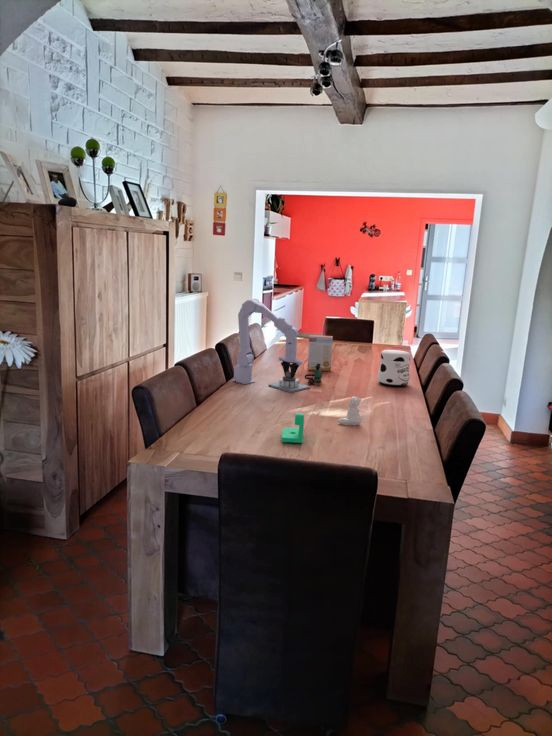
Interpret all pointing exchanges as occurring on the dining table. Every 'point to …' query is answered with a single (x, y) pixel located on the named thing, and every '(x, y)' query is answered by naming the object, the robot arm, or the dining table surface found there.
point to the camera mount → (294, 430)
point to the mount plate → (300, 387)
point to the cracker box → (320, 352)
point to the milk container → (394, 368)
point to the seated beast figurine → (352, 413)
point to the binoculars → (317, 376)
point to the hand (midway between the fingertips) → (289, 376)
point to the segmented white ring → (289, 383)
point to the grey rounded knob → (288, 376)
